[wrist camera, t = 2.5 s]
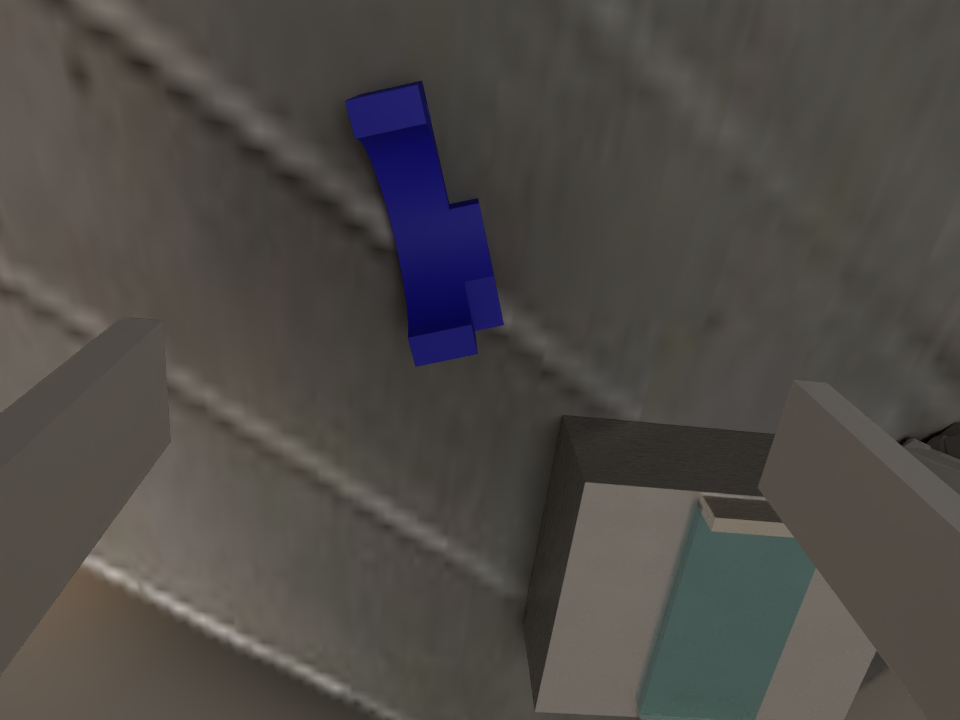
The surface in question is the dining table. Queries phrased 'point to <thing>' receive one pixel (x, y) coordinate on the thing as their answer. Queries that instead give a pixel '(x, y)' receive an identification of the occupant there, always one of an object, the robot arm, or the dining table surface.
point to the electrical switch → (940, 455)
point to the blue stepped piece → (427, 227)
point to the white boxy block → (679, 585)
